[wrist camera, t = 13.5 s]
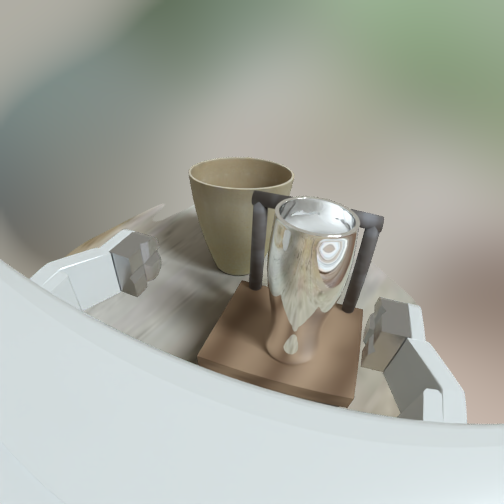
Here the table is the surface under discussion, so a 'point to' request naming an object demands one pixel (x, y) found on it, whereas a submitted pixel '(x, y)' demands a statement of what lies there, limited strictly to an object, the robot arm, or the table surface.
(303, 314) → the beer glass
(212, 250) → the plant pot
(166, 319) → the table surface
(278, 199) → the dolly
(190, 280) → the table surface
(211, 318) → the table surface
